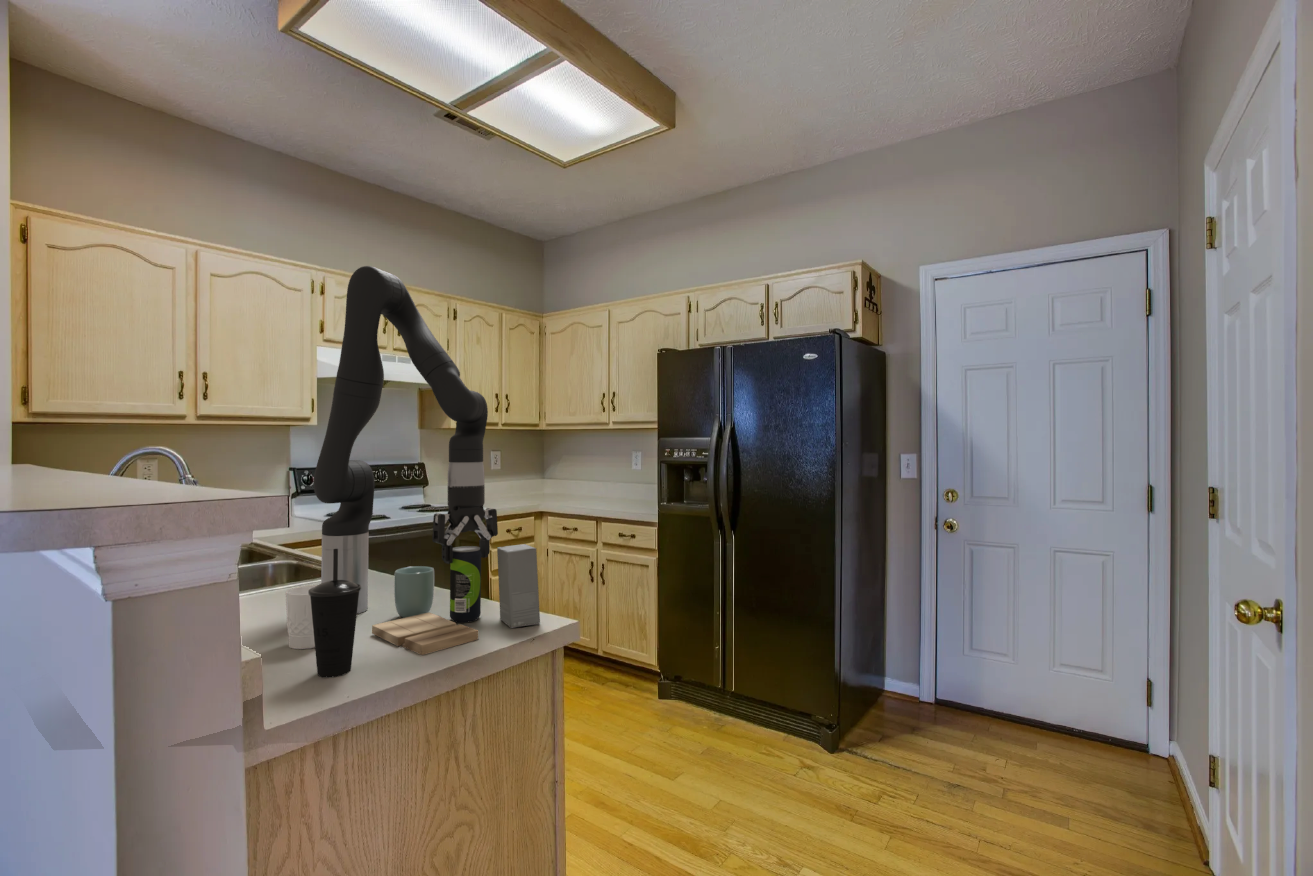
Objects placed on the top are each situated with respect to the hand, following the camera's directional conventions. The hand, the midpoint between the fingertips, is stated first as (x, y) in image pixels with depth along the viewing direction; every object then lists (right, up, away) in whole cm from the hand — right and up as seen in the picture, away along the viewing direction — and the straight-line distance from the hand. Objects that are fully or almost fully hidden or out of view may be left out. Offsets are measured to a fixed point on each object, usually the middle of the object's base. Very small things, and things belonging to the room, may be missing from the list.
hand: (466, 560), depth 130 cm
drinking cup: (-12, -12, -30) cm, 35 cm away
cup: (-12, -13, +2) cm, 17 cm away
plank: (-7, -12, -10) cm, 17 cm away
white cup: (-24, -12, -16) cm, 32 cm away
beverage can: (0, -13, 0) cm, 13 cm away
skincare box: (+11, -13, -2) cm, 17 cm away
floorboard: (0, -12, -16) cm, 20 cm away
